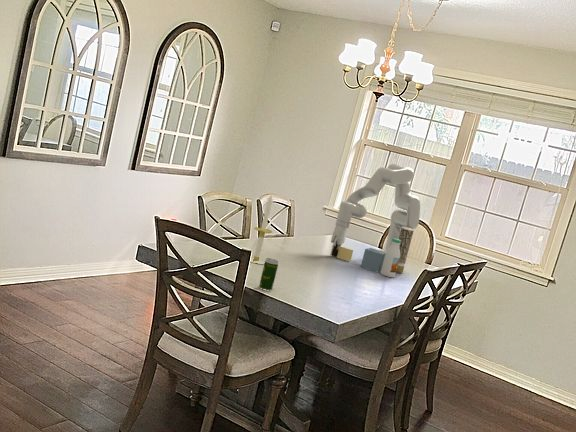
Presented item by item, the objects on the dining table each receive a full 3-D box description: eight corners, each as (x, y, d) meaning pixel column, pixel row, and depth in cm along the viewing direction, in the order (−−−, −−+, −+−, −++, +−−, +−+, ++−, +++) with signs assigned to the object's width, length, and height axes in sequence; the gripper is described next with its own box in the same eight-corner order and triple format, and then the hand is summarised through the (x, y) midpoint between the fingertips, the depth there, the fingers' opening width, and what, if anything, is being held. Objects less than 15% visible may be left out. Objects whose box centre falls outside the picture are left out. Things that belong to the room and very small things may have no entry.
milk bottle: (383, 276, 352) (393, 239, 350) (378, 272, 360) (387, 236, 357) (396, 278, 354) (406, 242, 352) (391, 274, 362) (400, 238, 359)
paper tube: (402, 274, 371) (413, 230, 368) (390, 271, 372) (401, 227, 369) (402, 272, 377) (414, 229, 374) (390, 269, 379) (402, 226, 375)
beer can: (271, 288, 270) (278, 259, 268) (272, 292, 264) (279, 262, 263) (258, 285, 269) (265, 257, 267) (259, 289, 264) (265, 260, 262)
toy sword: (242, 260, 310) (258, 191, 305) (248, 257, 319) (264, 190, 315) (262, 266, 307) (279, 196, 303) (268, 262, 317) (284, 195, 313)
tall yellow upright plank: (330, 255, 376) (333, 244, 376) (350, 261, 372) (353, 250, 371) (330, 255, 375) (332, 244, 375) (349, 261, 371) (352, 250, 370)
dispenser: (366, 265, 372) (370, 247, 371) (383, 270, 368) (387, 253, 367) (360, 266, 364) (365, 248, 362) (377, 272, 360) (382, 254, 358)
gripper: (341, 221, 381) (333, 253, 383) (331, 222, 367) (323, 255, 369) (353, 225, 378) (345, 256, 380) (344, 226, 364) (335, 258, 366)
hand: (334, 255), depth 375 cm, fingers closed
